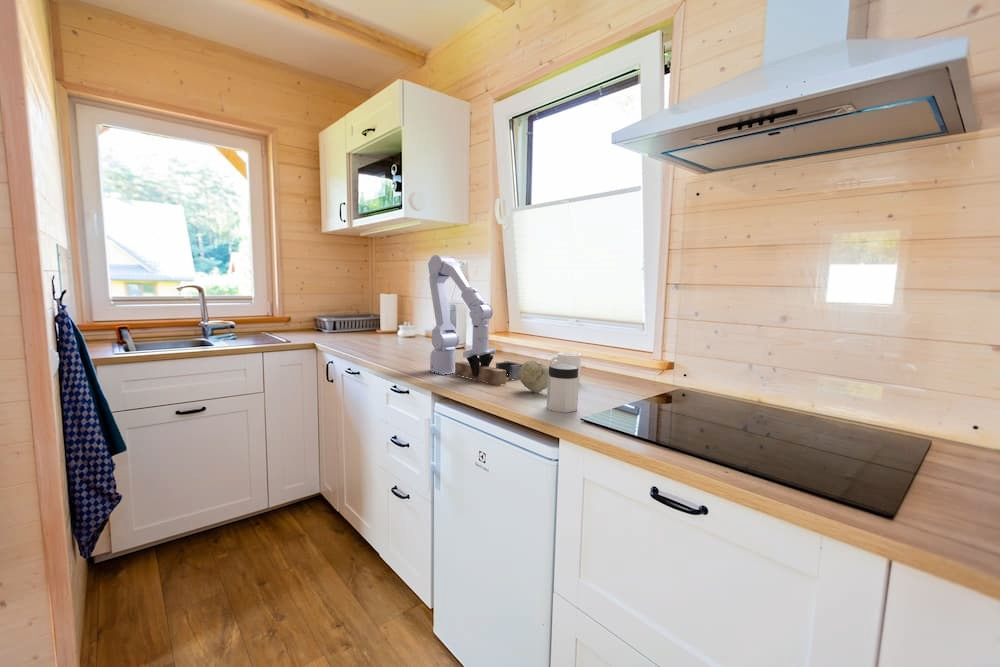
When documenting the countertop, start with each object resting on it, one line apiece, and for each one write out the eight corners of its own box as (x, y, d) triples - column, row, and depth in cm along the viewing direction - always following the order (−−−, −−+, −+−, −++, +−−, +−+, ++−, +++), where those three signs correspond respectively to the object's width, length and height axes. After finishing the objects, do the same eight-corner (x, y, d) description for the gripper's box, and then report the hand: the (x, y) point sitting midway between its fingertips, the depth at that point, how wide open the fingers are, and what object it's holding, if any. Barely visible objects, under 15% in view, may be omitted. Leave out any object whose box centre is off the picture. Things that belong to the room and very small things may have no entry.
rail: (455, 375, 164) (455, 362, 164) (461, 374, 167) (462, 361, 167) (499, 386, 150) (499, 371, 149) (505, 384, 153) (506, 370, 152)
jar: (564, 403, 130) (565, 363, 128) (583, 410, 123) (585, 367, 122) (540, 407, 125) (541, 365, 124) (559, 414, 118) (561, 370, 117)
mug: (543, 380, 160) (544, 352, 159) (555, 377, 167) (556, 350, 166) (572, 385, 153) (573, 356, 152) (583, 382, 159) (585, 353, 158)
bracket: (494, 375, 165) (494, 362, 165) (506, 373, 170) (507, 360, 170) (513, 380, 158) (514, 366, 158) (526, 377, 163) (527, 364, 163)
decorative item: (512, 391, 143) (513, 360, 142) (528, 386, 149) (529, 357, 148) (542, 398, 135) (543, 366, 134) (558, 393, 141) (559, 362, 140)
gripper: (473, 340, 149) (472, 380, 150) (502, 337, 159) (501, 374, 161) (459, 338, 154) (458, 376, 155) (488, 335, 164) (487, 371, 166)
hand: (479, 375), depth 158 cm, fingers closed on rail, 4 cm apart
